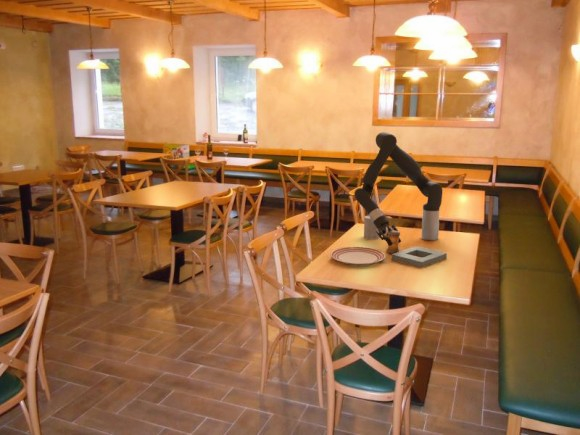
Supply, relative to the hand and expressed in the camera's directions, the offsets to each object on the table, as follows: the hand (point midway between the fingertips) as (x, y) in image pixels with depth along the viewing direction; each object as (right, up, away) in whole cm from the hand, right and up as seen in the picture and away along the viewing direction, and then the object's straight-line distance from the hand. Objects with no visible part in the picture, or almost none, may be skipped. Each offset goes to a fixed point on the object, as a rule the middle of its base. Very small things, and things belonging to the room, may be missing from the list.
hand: (395, 243), depth 277 cm
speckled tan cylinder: (-7, +2, +32) cm, 33 cm away
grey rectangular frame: (+10, -7, -11) cm, 16 cm away
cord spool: (-1, -5, +2) cm, 5 cm away
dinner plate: (-21, -8, -11) cm, 25 cm away
